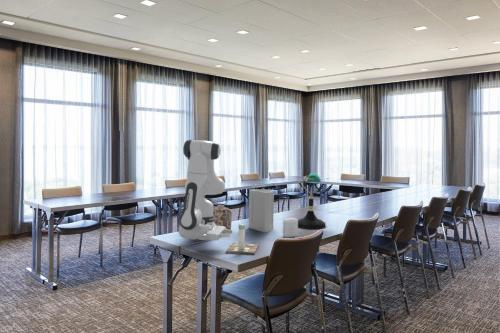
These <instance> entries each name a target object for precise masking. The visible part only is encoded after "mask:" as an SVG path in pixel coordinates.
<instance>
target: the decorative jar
mask: <svg viewBox="0 0 500 333" xmlns="http://www.w3.org/2000/svg"><path fill="white" fill-rule="evenodd" d="M232 214H233V212H232V211H231V210H230V208H229V207H226V206H225V204H218V205H217V206H216V207H214V206H213V215H214V222H215V224H216V225H217V226H224V227H226V229H228V230H232V217H233V216H232Z"/></svg>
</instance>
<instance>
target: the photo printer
mask: <svg viewBox="0 0 500 333" xmlns="http://www.w3.org/2000/svg"><path fill="white" fill-rule="evenodd" d="M298 220H299V219H297V218H294V217H287V218H285V219H284V220H283V221H282V222H283V223H282V238H291V237H292V238H293V237H298V233H299V232H298V229H299V227H298Z"/></svg>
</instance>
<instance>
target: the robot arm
mask: <svg viewBox="0 0 500 333" xmlns="http://www.w3.org/2000/svg"><path fill="white" fill-rule="evenodd" d="M182 151H183V155H184V156H185V158H187V160H188V164H187V173H186V181H185V184H184V190H185V195H184V200H183V201H184V202H183V208H182V211H181V213H180V216H179V218H178V224H179V226H178V233H179V236H180V238H183V239H186V240H194V241H195V240H200V241H219V240H220V239H222V238H229V236H230V234H233V230H232V229H231V230H228V229H226V227H224V226H217V225H216V224H215V222H214V215H213V208H214V203H213V202H212V201H210V200H208V199H206V198H205V197H204V196H205V195H206V196H207V195H209V196H210V195H215V196H216V195H220V194H223V192H224V191H225V189H226V185H225V182H224V180H223V179H222V178H220V177H219V176H218V175H217V173H216V172H215V166H214V165H215V160H217V159H219V157H220V155H221V151H222V150H221V146H220V144H219V143H218V142H215V141H209V140H197V139H196V140H194V139H187V140H186V141H185V142H184V144H183V147H182Z"/></svg>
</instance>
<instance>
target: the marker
mask: <svg viewBox="0 0 500 333" xmlns="http://www.w3.org/2000/svg"><path fill="white" fill-rule="evenodd" d="M245 232H246V224H243V223H242V224H241V223H239V224H238V243H239V250H245V244H246V236H245V235H246V233H245Z"/></svg>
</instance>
